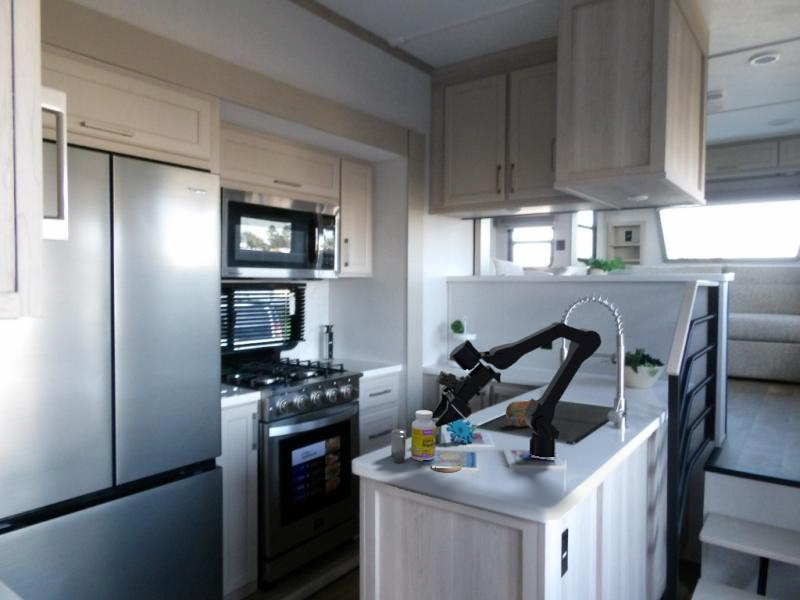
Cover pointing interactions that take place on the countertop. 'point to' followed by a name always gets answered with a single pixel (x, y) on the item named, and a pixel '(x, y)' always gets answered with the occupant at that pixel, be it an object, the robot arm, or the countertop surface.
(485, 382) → the robot arm
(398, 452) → the spacers
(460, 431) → the gear
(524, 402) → the orange snack packet
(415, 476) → the countertop surface
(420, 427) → the supplement bottle
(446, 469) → the cork coaster
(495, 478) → the countertop surface
